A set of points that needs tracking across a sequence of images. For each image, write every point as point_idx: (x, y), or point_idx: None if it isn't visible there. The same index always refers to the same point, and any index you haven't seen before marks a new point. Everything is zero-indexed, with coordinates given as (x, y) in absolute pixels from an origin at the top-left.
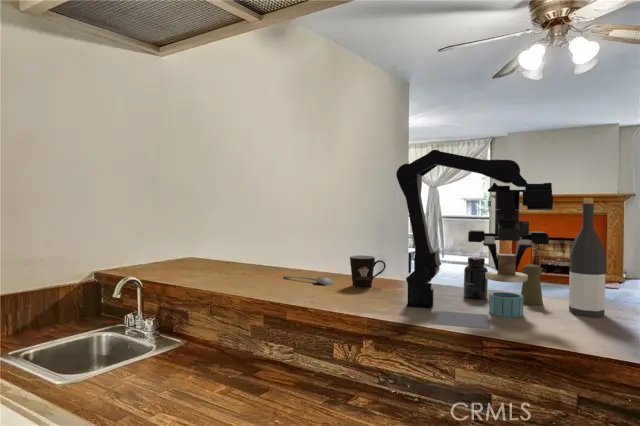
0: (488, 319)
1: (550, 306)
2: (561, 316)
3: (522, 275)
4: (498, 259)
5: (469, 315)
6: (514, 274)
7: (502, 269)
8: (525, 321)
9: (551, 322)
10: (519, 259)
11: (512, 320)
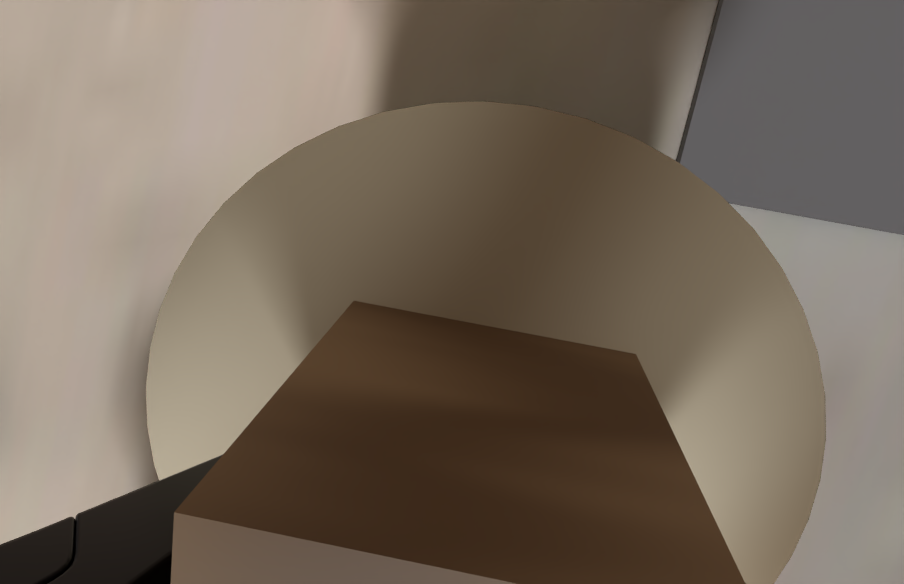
0: (723, 10)
1: None
2: (72, 273)
3: (228, 350)
4: (712, 553)
5: (861, 136)
6: (364, 308)
7: (574, 385)
8: (387, 64)
9: (185, 67)
10: (118, 511)
11: (489, 81)
